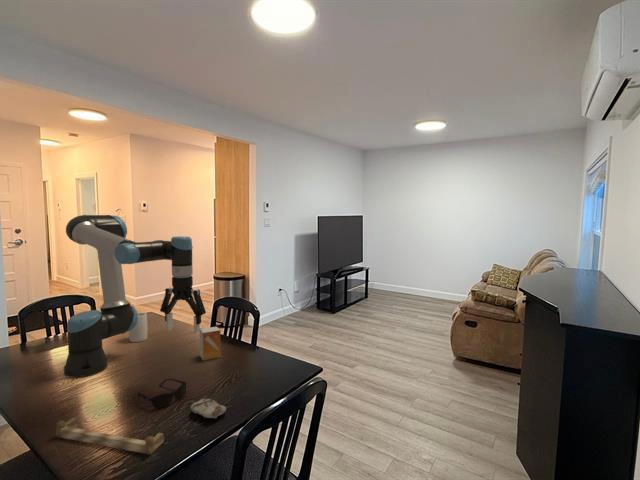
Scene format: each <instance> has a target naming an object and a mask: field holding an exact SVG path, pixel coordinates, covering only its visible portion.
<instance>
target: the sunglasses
mask: <svg viewBox="0 0 640 480" xmlns="http://www.w3.org/2000/svg"><path fill="white" fill-rule="evenodd" d="M167 381H173V382H177V383H178V384H179V383H180V384H181V385H180V386H179V387H177V389H175V390H174V391H172V392H166V393H162V394H159V395H155V396H153V397H152V398H151V397H150V396H146V395H144V394H143V393H142V392H140V391H137V392H138V393H137V394H138V396H140V397H142V398H143V399H145V400H147V401H149V402H150V403H151V404H152V407H154V408H155V409H162V408H165V407H168V406H169V405H170V404H171V402H172V399H173V397H174V399H176V400H178V401H179V400H182V399H183V398H184V397H185V395H186V391H187V383H186V382H185V381H184V380H180V379H178V378H177V379H176V378H166V379H164V380H163V381H161V382H160V383H159V385H158V386H159V387H162V386H163V385H164V384H165V382H167Z"/></svg>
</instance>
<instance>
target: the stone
mask: <svg viewBox="0 0 640 480" xmlns="http://www.w3.org/2000/svg"><path fill="white" fill-rule="evenodd" d="M190 409H191V411H192V413H194V414H198V415H200V416H202V417H203V418H205V419H206V418H207V419H217V418H218V416H221V415H224V413H225V412H226V410H227V407H226V405H225V406H224V405H222V404H219V403H218V401H215V400H214V399H210V398H205V397H203V398H202V397H201V398H199V400H198V401H196V402H193V403H192V404H191V405H190Z"/></svg>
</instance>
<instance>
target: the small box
mask: <svg viewBox="0 0 640 480" xmlns="http://www.w3.org/2000/svg"><path fill="white" fill-rule="evenodd" d="M199 358H201V360H202V362H203V361H208V360H212V359H217V358H221V329H220V328H219V327H218V326H212V327H211V326H210V327H205V328H200V331H199Z"/></svg>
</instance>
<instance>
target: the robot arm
mask: <svg viewBox="0 0 640 480" xmlns="http://www.w3.org/2000/svg"><path fill="white" fill-rule="evenodd" d="M65 233H66V234H65V235H66V236H67V238H68V239H69V240H71V241H72V242H74V243H76V244H78V245H83V246H84V245H87V246H90V247H93V248H94V249H96V251H97V253H96V254H97V259H98V267H99V275H100V276H99V277H100V282H101V283H100V284H101V291H102V300H103V303H102V305H101V306H100V309H99V310H98V309H92V310H86V311H82V312H78V313H76V314H74V315H72V316H70V318H68V320H67V328H66V331H67V347H68V354H67V358H66V361H65V362H66V363H65V364H64V366H63V375H64V376H67V377H71V378H72V377H75V378H76V377H78V378H79V377H85V376H91V375H93V374H96V373H98V372H100V371H103V370H105V369H106V368H107V367H108V363H109V360H108V358H107V356H106V353H105V351H104V349H103V340H106V339H108V338H113V337H115V336H118V335H124V334H125V333H129V331H130V330H132V329H133V328H134V327H135V326H136V324H137V320H138V314H137V313H138V310H137V309H136V307H135V306H134V305H132V304H131V301H129V300H127V298H126V291H125V282H124V275H123V268H122V267H123V266H122V265H132V264H133V265H134V264H140V263H146V262H147V263H148V262H155V261H163V260H164V261H165V260H167V261H171V276H172V278H171V287H168V288H165V289H164V291H165V293H164V297H163V300H162V303H161V306H160V310H159V311H160V313H164V321H165V322H166V331H168V332H169V331H170V330H172V329H173V328H174V323H173V322H174V321H173V320H174V319H173V318H174V317H173V316H174V314H173V312H172V310H173V308H174V307H175V306H176V304H177V303H178V301H180V300H182V301H185V302H186V303H187V304H188V305H189V307H190V309H191V310H192V312H193V313H194V315H195V316H193V333H194V334H197V333H200V329H201V328H200V327H201V326H200V324H202V316H203V315H205V314H206V313H207V311H206V309H205V305H204V302H203V300H202V297H201V289H198V288H197V289H194V288H193V284H194V281H193V279H194V277H193V276H192V275H193V274H194V272H193V240H192V238H191V237H190V236H172V237H171V239H170V240H162V239H161V240H153V241H140V242H137V241H133V240H131V239H129V238H127V235H128V227H127V224H126V222H125V220H124V219H122V218H121V217H120V216H118V215H111V214H103V215H102V214H95V215H94V214H82V215H81V214H80V215H78V216H74V217H73V218H72V219H70V220H69V221H68V222H67V224H66V226H65ZM172 294H173V296H172ZM171 297H172V298H171Z"/></svg>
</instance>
